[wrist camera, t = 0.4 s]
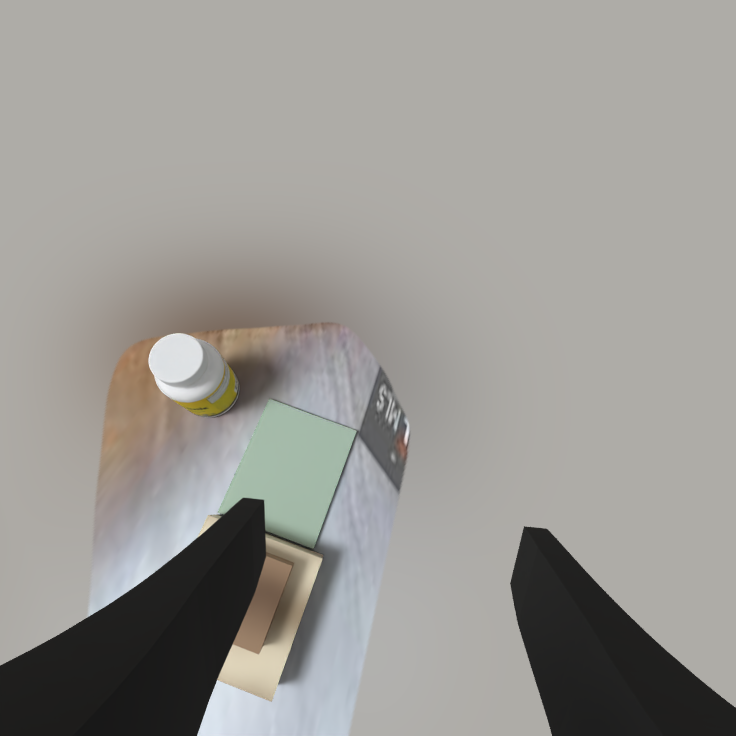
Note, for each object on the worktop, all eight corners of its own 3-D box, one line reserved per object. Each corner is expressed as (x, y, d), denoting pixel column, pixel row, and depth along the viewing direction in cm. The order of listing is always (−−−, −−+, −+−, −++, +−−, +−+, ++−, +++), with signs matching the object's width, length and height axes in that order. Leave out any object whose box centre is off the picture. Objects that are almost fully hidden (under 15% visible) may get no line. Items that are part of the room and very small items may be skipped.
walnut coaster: (263, 645, 31) (258, 654, 29) (189, 616, 31) (180, 623, 29) (294, 562, 33) (292, 566, 31) (225, 536, 33) (218, 537, 31)
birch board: (277, 685, 33) (271, 701, 30) (161, 639, 33) (145, 651, 30) (323, 555, 36) (322, 558, 33) (217, 514, 36) (207, 514, 34)
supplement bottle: (171, 400, 39) (121, 366, 30) (207, 355, 41) (170, 310, 32) (217, 429, 39) (181, 404, 30) (252, 383, 41) (228, 345, 31)
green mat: (313, 548, 36) (313, 549, 36) (218, 512, 36) (217, 512, 36) (356, 431, 40) (356, 430, 39) (269, 399, 40) (269, 398, 40)
